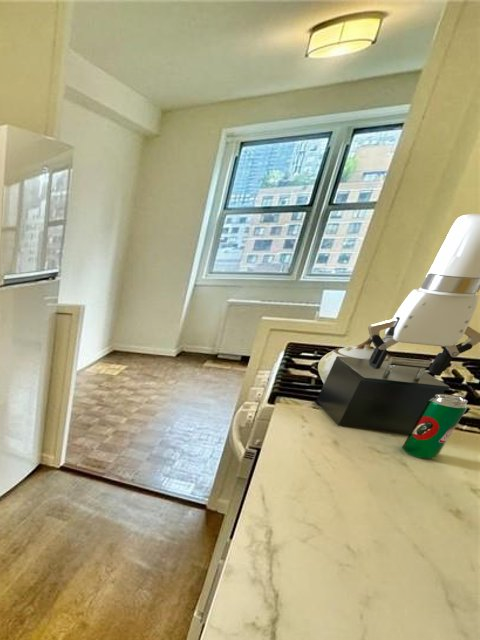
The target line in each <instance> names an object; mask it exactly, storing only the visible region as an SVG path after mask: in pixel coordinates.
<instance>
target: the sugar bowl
mask: <svg viewBox="0 0 480 640" xmlns="http://www.w3.org/2000/svg"><path fill="white" fill-rule="evenodd" d="M372 344H373V342H372V341H371V340H370V338H367V340H365V341H363V342H362V343H360V344H357V345H354V346H353V345H352V346H346V347H345V346H344V347H337V348H335V349H334V350H332V351H330V352H328V353H326V354H325V355H323V356H322V357H321V358H320V360H319V361H318V364H317V371H318V375H319V377H320V379H321V381H322V383H323V384H324V383H325V381H326V379H327V376H328V374H329V372H330V370H331V368H332V365H333V363H334V361H335V360H336V357H337V356H340V357H351V358H361V359H370V357H371V355H372V353H373V351H374V349H375V346H371V345H372ZM391 357H393V356H392V355H390V354H389V353H388V354H387V356H386V357H385V359H384V361H389V359H390V358H391Z"/></svg>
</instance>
